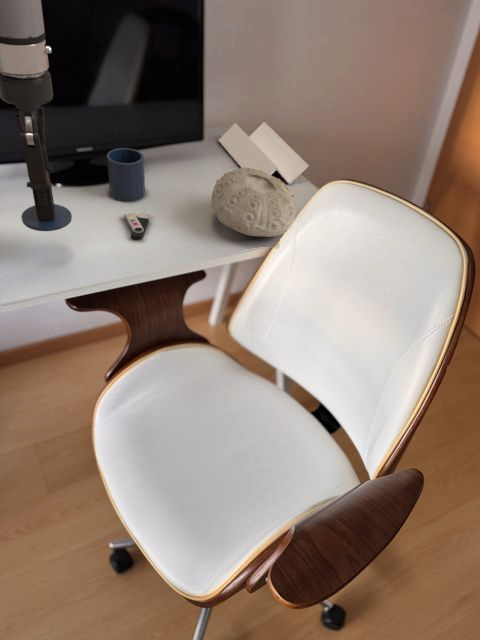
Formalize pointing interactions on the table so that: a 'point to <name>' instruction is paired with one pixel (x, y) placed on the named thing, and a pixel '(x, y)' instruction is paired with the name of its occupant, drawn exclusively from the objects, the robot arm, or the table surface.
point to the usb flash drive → (137, 224)
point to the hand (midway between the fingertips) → (46, 213)
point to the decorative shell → (253, 203)
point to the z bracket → (263, 152)
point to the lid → (61, 220)
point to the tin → (126, 174)
